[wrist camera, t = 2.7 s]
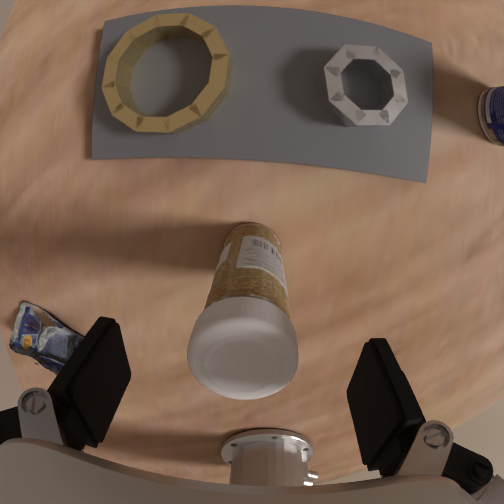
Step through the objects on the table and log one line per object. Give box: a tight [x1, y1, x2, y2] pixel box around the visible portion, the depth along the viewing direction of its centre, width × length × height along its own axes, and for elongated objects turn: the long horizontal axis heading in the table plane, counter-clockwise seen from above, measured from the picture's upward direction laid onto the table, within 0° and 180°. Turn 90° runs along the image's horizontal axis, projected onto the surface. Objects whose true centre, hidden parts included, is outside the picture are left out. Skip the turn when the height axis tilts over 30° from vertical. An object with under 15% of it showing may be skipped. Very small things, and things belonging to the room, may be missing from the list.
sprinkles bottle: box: [187, 223, 298, 399], centre depth 17 cm, size 5×5×14 cm
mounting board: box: [92, 6, 433, 183], centre depth 18 cm, size 26×12×2 cm, turn 86°
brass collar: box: [102, 13, 233, 134], centre depth 16 cm, size 8×8×2 cm
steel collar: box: [317, 45, 408, 127], centre depth 16 cm, size 6×6×2 cm
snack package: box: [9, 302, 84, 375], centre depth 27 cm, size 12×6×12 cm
